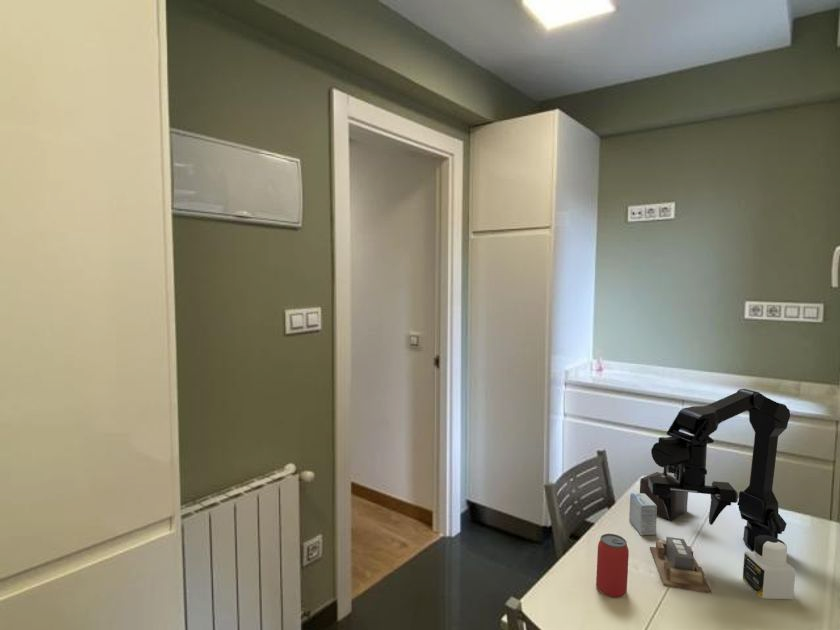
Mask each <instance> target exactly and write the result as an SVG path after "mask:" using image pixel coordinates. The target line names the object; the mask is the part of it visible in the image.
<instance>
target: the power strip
mask: <svg viewBox="0 0 840 630" xmlns="http://www.w3.org/2000/svg"><path fill="white" fill-rule="evenodd" d="M665 541H666V553H665V556H666V558H667V561H668V562H671V565H672V567H673V568H675V569H682V570H688V571H693V566H694V558H695V557H694V558H693V556H694V555H693V556H692V554H691V552H690V550H689V548H688V546H689V545H688V544H687V543H686V540H685V539H684V538H681V537H679V538H678V537H671V536H666V538H665Z"/></svg>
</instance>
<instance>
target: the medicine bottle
mask: <svg viewBox="0 0 840 630" xmlns="http://www.w3.org/2000/svg"><path fill="white" fill-rule="evenodd" d="M787 553H788V546H787V544H786V543H785V542H784V541H782V540H781V539H780V538H778V539H777V538H775V537H772V536H767V535H759V536H757V537H755V544H754V551H744V555H743V557H744V558H743V570H742V580H743V581H744V582H745V583H746V584H747V585H748V586H749V587H750V588H751V589H752V590H753V591H754V592H755V593H756V594H757V596H759V597H760V599H763V600H765V599H766V600H768V599H769V600H770V599H771V600H794V596H795V595H794V594H795V583H796V574H797V573H796V572H797V570H796V569H795V568H794V567H793V566H792V565H790V564H789V563H788V562H787Z"/></svg>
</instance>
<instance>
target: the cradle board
mask: <svg viewBox="0 0 840 630" xmlns="http://www.w3.org/2000/svg"><path fill="white" fill-rule="evenodd" d="M687 546H688V548H689V550H690V552H691V554H692V556H693V558H694V566H693V571H688V570H682V569H675V568H673V567H672V565H671V562H668V561H667V558H666V556H665V553H666V540H660V539H658V541H655V546H649V551H650V553H651V556H652V559H653V561H654V564H655V567H656V569H657V573H658V575H659V579H660V580H661V583H662V585H663V586H664V587H668V588H669V587H670V588H676V589H677V588H678V589H682V590H689V591H694V592H695V591H696V592H701V593H708V594H712V589H711V587H710V585H709V582H708V581H707V579H706V577H705V572H704V570H703V567H702V566H699V564H698V562H697V560H696V557H695V556H694V551H693V549H692V546H690V545H687Z"/></svg>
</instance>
